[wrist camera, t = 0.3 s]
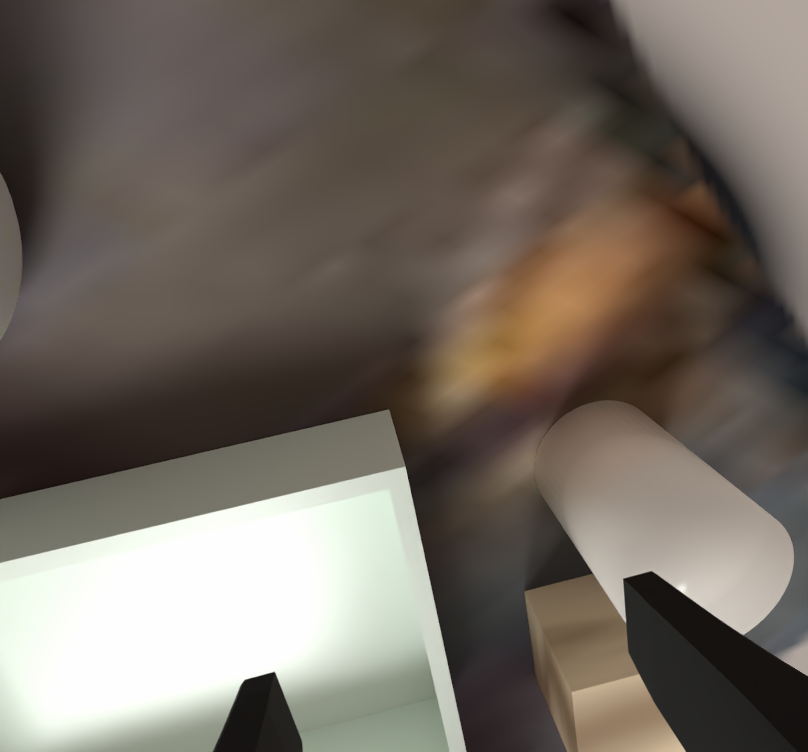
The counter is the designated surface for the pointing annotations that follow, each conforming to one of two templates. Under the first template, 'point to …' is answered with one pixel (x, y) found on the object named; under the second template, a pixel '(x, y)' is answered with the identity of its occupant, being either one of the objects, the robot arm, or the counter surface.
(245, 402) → the counter surface
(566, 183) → the counter surface
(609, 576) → the white canister
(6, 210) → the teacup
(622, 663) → the oak cube
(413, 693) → the tote
